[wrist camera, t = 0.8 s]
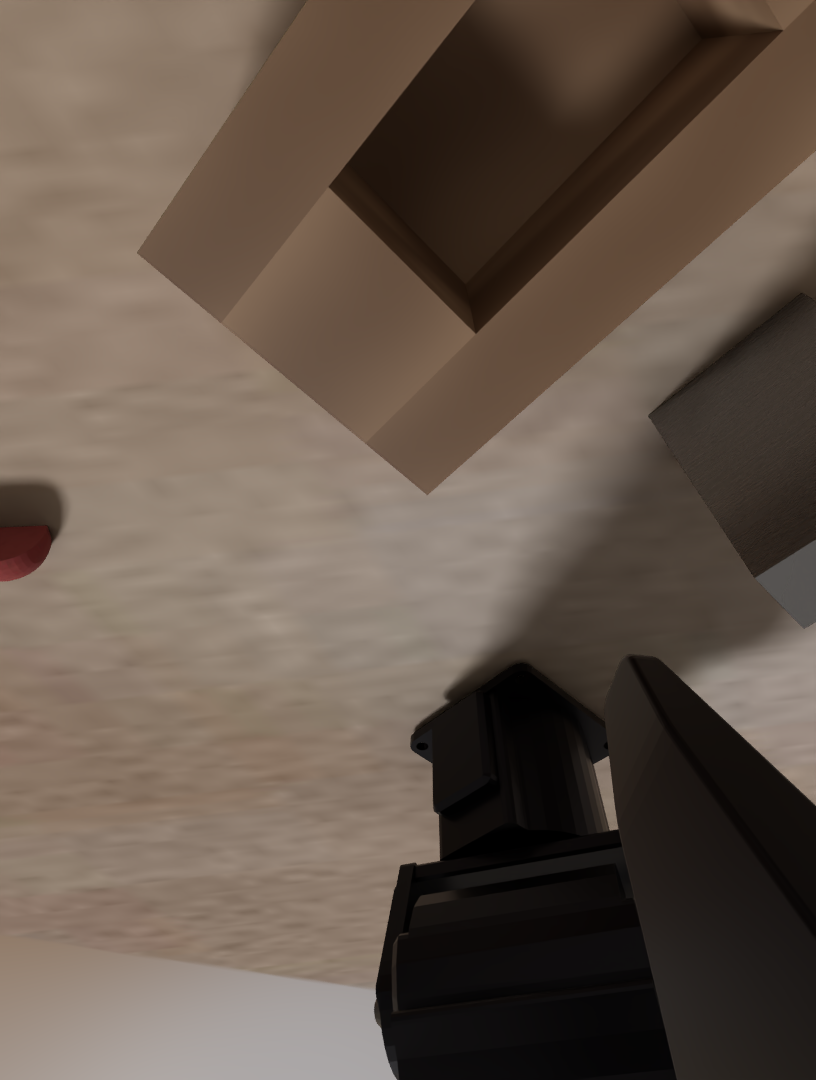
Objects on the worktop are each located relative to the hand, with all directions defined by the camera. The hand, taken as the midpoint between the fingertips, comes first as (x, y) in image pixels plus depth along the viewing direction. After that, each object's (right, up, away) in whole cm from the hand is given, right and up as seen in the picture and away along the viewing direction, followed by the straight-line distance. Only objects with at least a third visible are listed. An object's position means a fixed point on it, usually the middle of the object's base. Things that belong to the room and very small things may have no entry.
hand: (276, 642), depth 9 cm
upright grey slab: (+11, +6, +11) cm, 17 cm away
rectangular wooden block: (+4, +12, +7) cm, 14 cm away
